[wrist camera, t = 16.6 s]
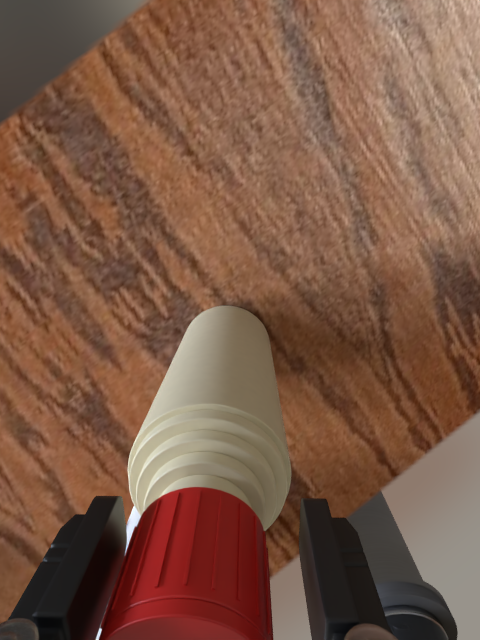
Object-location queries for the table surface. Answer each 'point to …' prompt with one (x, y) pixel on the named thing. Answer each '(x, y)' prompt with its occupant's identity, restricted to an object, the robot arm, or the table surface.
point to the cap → (193, 572)
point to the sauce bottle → (216, 419)
